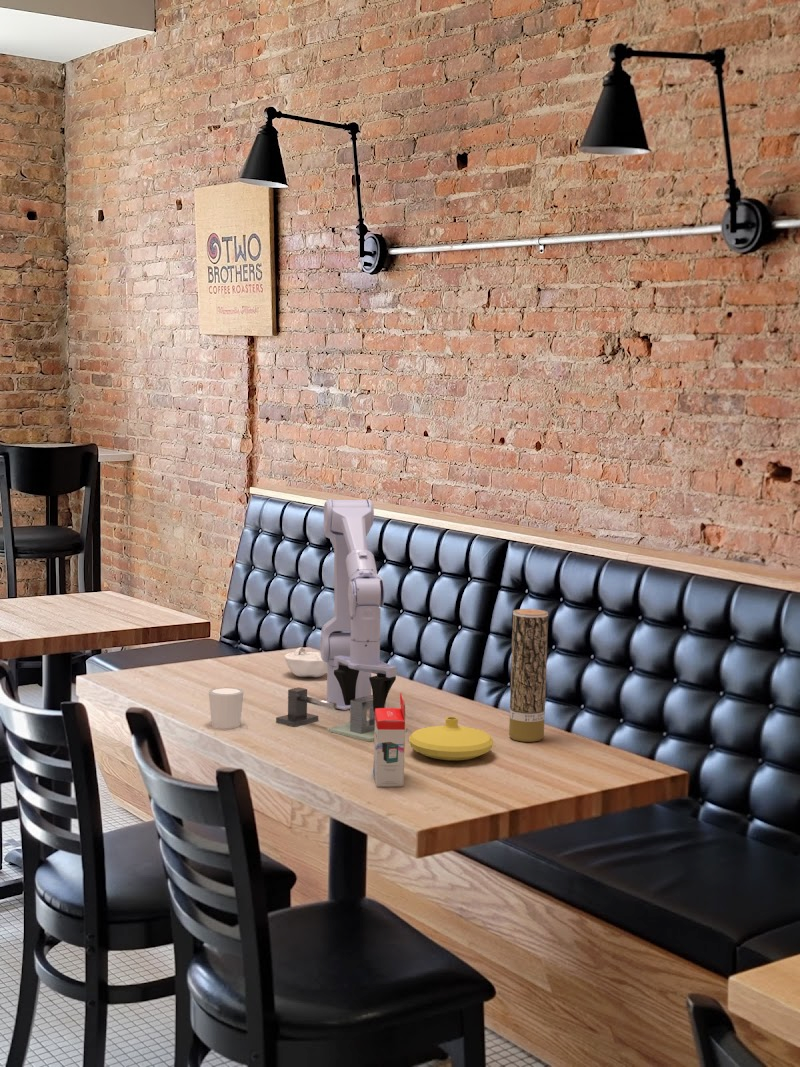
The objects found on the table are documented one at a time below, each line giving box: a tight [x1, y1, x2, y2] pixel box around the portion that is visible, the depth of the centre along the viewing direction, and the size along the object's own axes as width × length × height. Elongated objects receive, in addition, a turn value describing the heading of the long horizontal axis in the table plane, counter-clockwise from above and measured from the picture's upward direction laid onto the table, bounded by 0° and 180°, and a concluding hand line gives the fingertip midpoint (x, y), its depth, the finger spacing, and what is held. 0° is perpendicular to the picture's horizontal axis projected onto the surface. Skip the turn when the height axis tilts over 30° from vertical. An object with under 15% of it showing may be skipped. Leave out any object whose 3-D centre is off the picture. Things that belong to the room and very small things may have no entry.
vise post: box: [275, 686, 337, 728], centre depth 267 cm, size 7×13×7 cm, turn 50°
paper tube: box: [508, 608, 549, 743], centre depth 260 cm, size 7×7×25 cm
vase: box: [408, 716, 495, 761], centre depth 248 cm, size 16×16×7 cm
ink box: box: [372, 692, 406, 788], centre depth 231 cm, size 8×5×15 cm, turn 5°
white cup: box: [208, 687, 245, 730], centre depth 265 cm, size 7×7×7 cm
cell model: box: [283, 646, 327, 678], centre depth 310 cm, size 10×12×7 cm
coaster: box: [327, 718, 408, 743], centre depth 264 cm, size 11×11×1 cm
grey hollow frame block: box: [349, 694, 387, 734], centre depth 262 cm, size 7×3×6 cm, turn 140°
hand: (363, 707), depth 261 cm, fingers open, 7 cm apart
